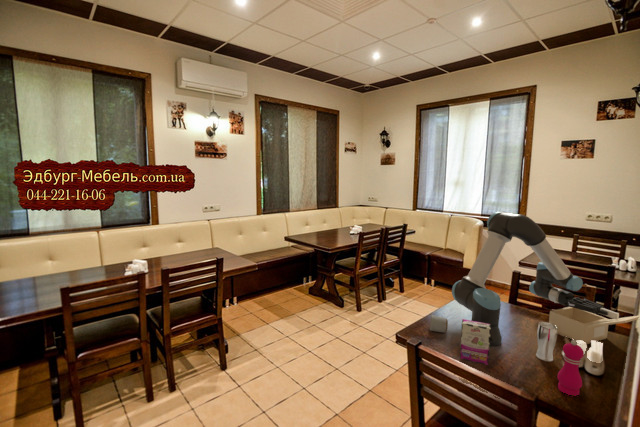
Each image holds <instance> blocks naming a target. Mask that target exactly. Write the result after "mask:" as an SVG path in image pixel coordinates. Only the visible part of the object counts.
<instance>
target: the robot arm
mask: <svg viewBox="0 0 640 427" xmlns="http://www.w3.org/2000/svg"><path fill="white" fill-rule="evenodd" d="M486 224H487V225H486V226H487V227H486V228H487V230H486V232H487V235H488V236H487V238H486V239H485V242H484V243H483V245H482V248H481V249H480V251H479V253H478V254H477V256H476V259H475V260H474V263H473V264H472V266H471V269H470V271H469V272H468V274H467V275H465V276H463V277H462V278H461V280H458V281H456V282H455V283H454V284H453V285H452V288H451V295H452V297H453V299H454V300H455V301H456V302H457V304H459V305H461V306H463V307H465V308H466V309H468V310H469V311H471V319H470V321H476V322H482V323H487V324H490V328H491V333H490V347H498V346H500V345H501V344H502V340H503V339H502V333H501V331H500V328H499V324H500V314H501V306H502V304H501V297H500V295H499V294H498V293H497V292H495V291H494V290H492V289H488V288H486V286H485V283H486V281H487V279H488V278H489V276H490V273H491V271H492V270H493V267H495V264H496V262H497V260H498V259H499V256H500V255H501V252H502V251H503V249H504V247H505V245H506V244H507V243H509V242H511V240H512V239H513V238H516V239H519V240H520V241H521V242H523V243H524V245H526V246H528V247H530V248H531V250H532V251H533V253H535V255H536V256H537V257H538V258H539V260H540V261H539V262H538V263H537V265H536V271H535V272H536V276H535V280H533V281H531V282H530V284H529V287H528V288H529V292H530V293H531V294H533V295H535V296H537V297H538V298H543V299H546V300H549V301H551V302H552V303H553V302H554V304H560V305H562V306H565V307H573V308H577V309H580V310H584V311H587V312H590V313H593V314H596V315H599V314H600V315H601V316H602V315H603V316H606V317H608V318H610V319H616V320H617V319H619V318H620V313H619V312H615V311H613V310H610V309H607V308H605V307H604V306H603V305H602V304H599V303H597V302H594V301H591V300H589V299H588V298H585V297H584V298H580V297H576V296H575V295H574V293H573V292H579V290H581V288H582V287H583V284H584V281H583V279H582V278H581V277H579V276H578V275H574V274H573V273H572V272H571V271H570V269H569V268H568V267H567V265H566V264H565V263H564V261H563V259H562V258H561V257H560V256H559V255H558V253H557V251H556V250H555V249H554V248H553V246H552V245H551V243H549V240H547V234H546V233H545V232H544V231H543V229H542V228H541V227H540V225H538V224H537V223H536V222H535V221H534V220H533V219H532V218H530V216H529V217H528V216H527V215H525V214H521V213H519V214H518V213H514V212H508V211H496V212H493V213H492V214H490V216H489V217H488V218H487V221H486ZM553 284H554V285H556V286H558V287H561V288H558V287H555V286H553ZM562 288H563V289H562ZM565 289H566V290H565ZM568 290H569V291H568ZM571 291H572V292H571ZM600 315H599V316H600Z"/></svg>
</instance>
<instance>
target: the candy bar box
mask: <svg viewBox="0 0 640 427" xmlns="http://www.w3.org/2000/svg"><path fill="white" fill-rule="evenodd" d="M460 331H461V334H460V349H459V350H460V352H459V359H461V360H465V361H468V362H469V361H470V362H472V363H473V362H474V363H476V364H477V363H478V364H483V365H486V366H488V365H489V359H490V347H491V346H490V333H491V328H490V324H487V323H482V322H476V321H471V319H465V318H464V319H463V318H462V319H461V330H460Z"/></svg>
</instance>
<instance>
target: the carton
mask: <svg viewBox="0 0 640 427" xmlns="http://www.w3.org/2000/svg"><path fill="white" fill-rule="evenodd" d="M605 320H609V318H606V317H604V316H602V315H596V313H590V312H587V311H584V310H580V309H577V308H573V307H567V306H565V307H563V308H557V309H553V310H550V311H549V316H548V323H551V324H554V325H555V326H557V335H560V336H562V337H564V336H567V337H568V338H570V339H572V338H573V339H574V340H583V341H584V342H586V343H587V344H586V345H589V344H591V343H590V341H591V340H597V341H596V342H599V340H600V341H604V340H606V338H608V332H609V331H608V330H609V325H602V326H594V327H586V325H590V324H594V323H598V322H601V321H605ZM568 338H567V339H568ZM570 339H569V340H570Z"/></svg>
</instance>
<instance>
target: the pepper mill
mask: <svg viewBox="0 0 640 427" xmlns="http://www.w3.org/2000/svg"><path fill="white" fill-rule="evenodd" d="M562 352H563V360H564V363H563V366H562V367H561V369H560V370H559V371H558V373H557V381H558V383H557V389H558V390H559V391H560V392H561V393H562V392H563V393H562V394H564V393H566V394H568V395H567V396H569V395H574V396H576V395H579V396H580V392H581V391H580V389H581V388H582V386H583V380H582V379H583V378H582V376H581V374H580V371H579V366H580V365H581V363H582V360H581V359H583V358H584V356H585V352H584V349H583V348H582V347H581V346H580V345H579V344H578V343H577V342H576V341H575V340H570V342H567V343H565V344H564V345H563V347H562ZM566 394H565V395H566Z"/></svg>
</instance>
